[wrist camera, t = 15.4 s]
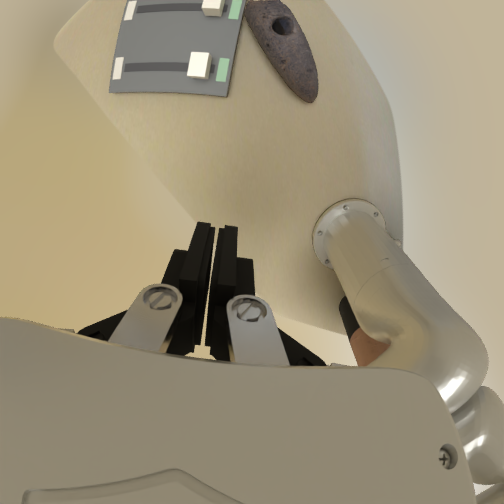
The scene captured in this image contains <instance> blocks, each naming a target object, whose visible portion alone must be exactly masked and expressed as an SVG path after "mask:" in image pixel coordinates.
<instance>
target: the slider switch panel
mask: <svg viewBox="0 0 504 504" xmlns="http://www.w3.org/2000/svg"><path fill="white" fill-rule="evenodd" d="M246 2H247V0H225V3H224V7H223V11H222V16H221V17H220V16H205V14H204V12H203V10H202V4H203V0H127V3H126V6H125V10H124V14H123V17H122V21H121V25H120V30H119V34H118V39H117V44H116V49H115V54H114V60H113V66H112V72H111V79H110V87H109V93H123V92H169V93H189V94H202V95H213V96H223V97H227V95H228V89H229V84H230V78H231V73H232V68H233V62H234V57H235V52H236V47H237V42H238V37H239V33H240V28H241V23H242V19H243V14H244V10H245V6H246ZM191 52H205V53H210V55H211V56H212V61H211V66H210V72H209V78H208V79H197V78H191V77H189V76H187V72H188V67H189V61H190V56H191Z"/></svg>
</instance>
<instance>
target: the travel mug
mask: <svg viewBox="0 0 504 504" xmlns="http://www.w3.org/2000/svg"><path fill="white" fill-rule="evenodd" d="M339 311H340V314H341V317H342V320H343V323H344V326H345V329H346V332H347V335H348V338H349V342H350V345H351V347H352V350H353V353H354V356H355V358H356V361H357V364H358V366H367V365H369V364H370V363H371V362H373V361H374V360H375V359H377V357H378V356H380V355H381V354H382V353H383V352H384V351H386V350H387V349H388V348H389V346H390V345H389V344H385V343H382V342H379V341H377V340H375V339H373V338H371V337H369V336H368V335H367V334H366V333H365V332H364V331H363V330H362V329H361V327H360V325H359V324H358V321H357V319H356V317H355V315H354V312H353V310H352V308H351V306H350V303H349V301H348V299H347V297H346V296H345V297H344V298H343V299H342V301H341V302H340V305H339Z"/></svg>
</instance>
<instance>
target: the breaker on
mask: <svg viewBox="0 0 504 504" xmlns="http://www.w3.org/2000/svg"><path fill="white" fill-rule="evenodd" d="M211 61H212V56H211V55H210V53H205V52H191V56H190V61H189V67H188V72H187V76H189V77H191V78H197V79H208V78H209V72H210V66H211Z"/></svg>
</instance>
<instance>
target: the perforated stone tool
mask: <svg viewBox="0 0 504 504" xmlns="http://www.w3.org/2000/svg"><path fill="white" fill-rule="evenodd" d="M244 14H245V17H246V19H247V22H248V24H249V26H250V28H251V29H252V31H253V33H254V35H255V37H256V39H257V40H258V42H259V44H260V46H261V47H262V49H263V51H264V52H265V54H266V55H267V57H268V59H269V60H270V61H271V63H272V64H273V66H274V67H275V68H276V70H277V71H278V73H279V74H280V75H281V77H282V78H283V79H284V81H285V82H286V83H287V85H288V86H289V87H290V88H291V89H292V90H293V91H294V92H295V93H296V94H297V95H298V96H299V97H300V98H301V99H303V100H304V101H306V102H308V103H313V102H314V100H315V99H316V97H317V94H318V78H317V76H318V75H317V69H316V65H315V62H314V59H313V56H312V53H311V49H310V47H309V44H308V42H307V39H306V37H305V35H304V33H303V32H302V30H301V28H300V26H299V24H298V22H297V20H296V18H295V17H294V15H293V13H292V12H291V10H290V9H289V8H288V7H287V6H286V5H285V4H283V3H282V2H281V1H280V0H265V1H264V0H260V1H254V0H250V1H249V2H248V3H247V5H246V8H245V11H244Z"/></svg>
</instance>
